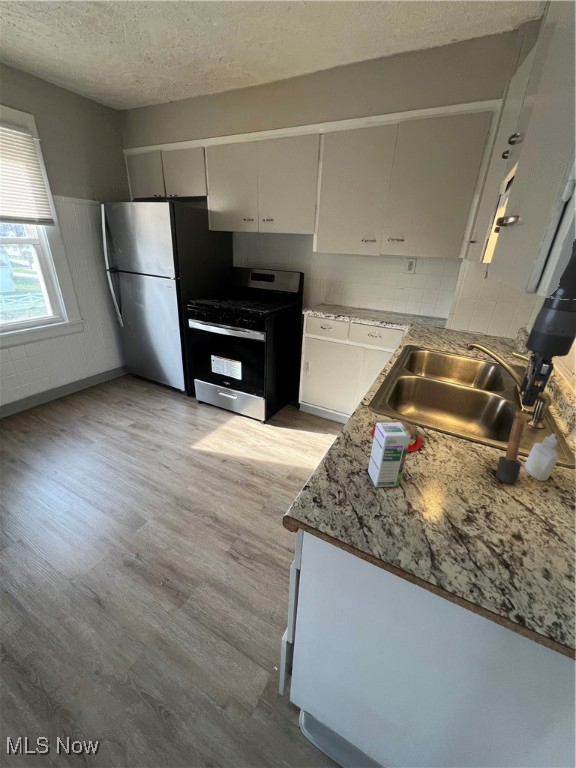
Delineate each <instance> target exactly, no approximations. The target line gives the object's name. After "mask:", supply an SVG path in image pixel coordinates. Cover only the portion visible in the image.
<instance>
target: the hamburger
mask: <svg viewBox="0 0 576 768" xmlns="http://www.w3.org/2000/svg"><path fill="white" fill-rule="evenodd" d="M397 422H401V424H402V425H403V426H404V427H405V428H406V429H407V431H408V432H409V434H410V436H411V437H410V441H409V445H408V449H407V453H409V452H415V451H417V450H419V449H420V448H421V447H422V445H423V440H422V438H421V436H420V435H419V431H418V429H417V427H416V426H415V425H413V424H412V423H411V422H408V421H407V420H403V419H396V420H393V421H391V423H397ZM375 428H376V425H375V426H374V427H373V428H372V430H371V436H372V438H373V439H374V434H375Z"/></svg>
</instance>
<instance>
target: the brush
mask: <svg viewBox="0 0 576 768" xmlns="http://www.w3.org/2000/svg"><path fill="white" fill-rule="evenodd" d="M525 423H526V420H525V419H522V418H516V417H515V418H513V420H512V424H511V428H510V429H511V430H510V434H509V439H508V443H507V447H506V452H505V455H504V456H499V458H498V462H497V466H496V472H495V478H496V479H498V480H499V481H502V482H505V483H508V484H517V483H518V481H519V476H520V473H521V469H522V468H521V467H522V461H520V460H518V459H517V458H518V455H519V451H520V446H521V442H522V437H523V434H524V433H523V432H524V427H525Z"/></svg>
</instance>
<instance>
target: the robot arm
mask: <svg viewBox="0 0 576 768" xmlns="http://www.w3.org/2000/svg"><path fill="white" fill-rule="evenodd" d="M567 262H568V261H567ZM560 277H561V278H560V283H559V285H560V286H559V287H558V289H557V290H556V291H555V292H554V293H553V294H552V295H550V296H553V297H554V298H561V299H569V300H560V299H551V297H550V298H545V297H544V300H543V302H542V305H541V306H540V309H539V311H538V313H537V315H536V316H535V319H534V322H533V324H532V327H531V330H530V332H529V334H528V338H527V340H526V342H525V349H527V350H528V351H531V354H530V356H529V357H528V362H527V364H526V365H525V372H524V377H523V380H522V382H521V386H520V388H519V389H520V392H521V393H524V394H523V396H522V400H521V405H522V406H524V407H529V408H533V407H534V406H535V404H536V401H537V399H538V397H539V394H543V393H544V392H545V389H546V386H547V384H548V381H549V379H550V377H551V375H552V372H553V370H554V369H555V365H554V364H555V363H554V362H553V358H555V357H558V358H559V357H566V356H567V355H569V353H570V351H571V349H572V347H573V344H574V342H575V340H576V300H573V299H576V239H575V241H574V242H573V247H572V254H571V258H570V260H569V262H568V263H567V264H566V266H565V268H564V271H563V272H562V274H561V275H560ZM536 383H539V384H538V385H536Z"/></svg>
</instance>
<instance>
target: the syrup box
mask: <svg viewBox="0 0 576 768" xmlns="http://www.w3.org/2000/svg"><path fill="white" fill-rule="evenodd" d="M375 426H376V428H375V434H374V438H373V440H372V444H371V445H372V446H371V451H370V457H369V463H368V469H367V472H368V474H369V476H370V479H371V481H372V483H373V485H374V487H375V488H388V487H389V488H390V487H391V488H392V487H399V486H400V482H401V479H402V474H403V471H404V470H403V469H404V465H405V461H406V457H407V454H408V452H407V449H408V445H409V441H410V437H411V436H410V434H409V432H408V431H407V429H406V428H405V427H404V426H403V425H402V424H401V422H397V423H392V422H376V423H375Z"/></svg>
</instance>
